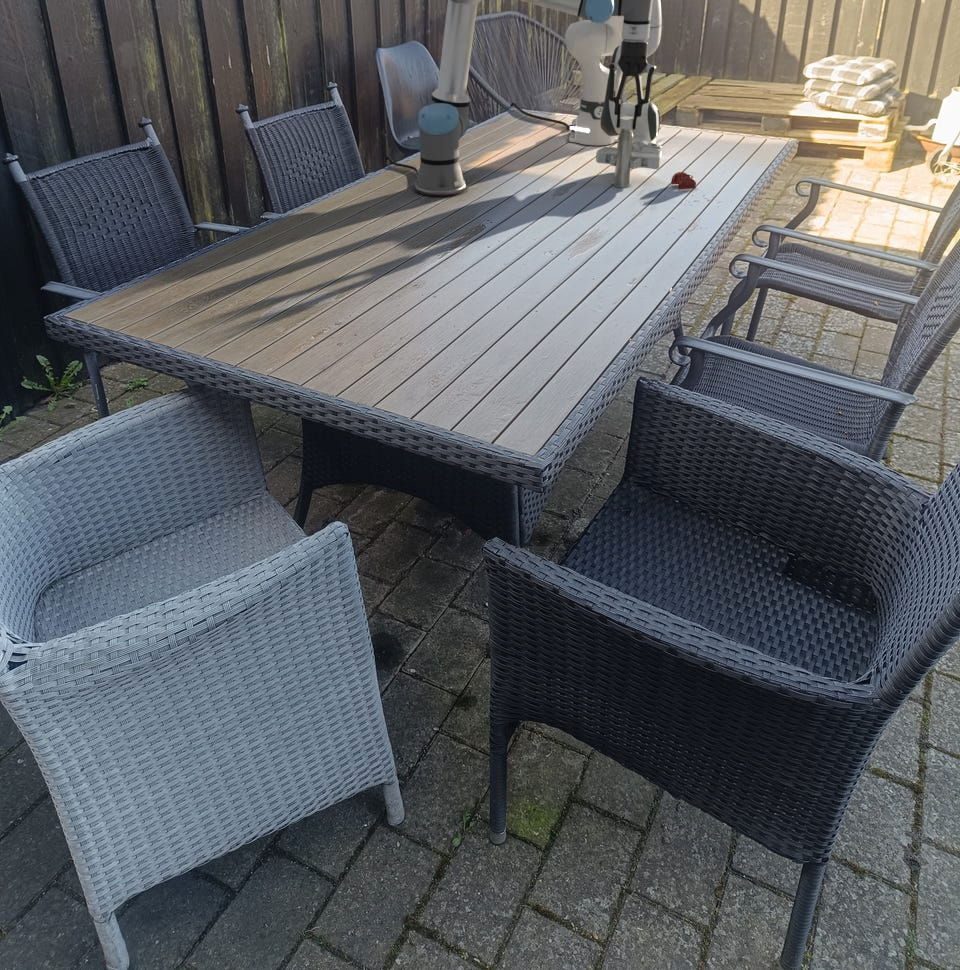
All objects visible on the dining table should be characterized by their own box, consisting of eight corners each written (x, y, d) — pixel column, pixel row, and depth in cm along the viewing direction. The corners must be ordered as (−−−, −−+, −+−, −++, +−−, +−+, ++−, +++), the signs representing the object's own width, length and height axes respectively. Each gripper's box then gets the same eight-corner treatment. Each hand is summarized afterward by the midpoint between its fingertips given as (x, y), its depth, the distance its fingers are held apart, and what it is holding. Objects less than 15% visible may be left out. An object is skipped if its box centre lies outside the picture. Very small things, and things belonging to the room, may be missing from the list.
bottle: (617, 182, 265) (623, 117, 254) (630, 184, 263) (637, 118, 252) (611, 186, 262) (617, 120, 250) (625, 188, 260) (631, 121, 248)
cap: (622, 124, 255) (623, 115, 253) (636, 126, 253) (637, 117, 251) (617, 127, 252) (617, 118, 250) (630, 129, 250) (631, 120, 248)
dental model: (687, 168, 262) (698, 175, 256) (685, 181, 264) (697, 189, 258) (670, 170, 261) (681, 177, 255) (669, 183, 263) (680, 191, 257)
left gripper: (602, 40, 238) (595, 127, 252) (663, 43, 233) (653, 132, 247) (608, 36, 244) (601, 122, 258) (668, 39, 239) (657, 127, 253)
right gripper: (603, 139, 269) (590, 150, 259) (666, 145, 263) (656, 156, 253) (601, 160, 273) (589, 171, 263) (663, 166, 267) (653, 178, 256)
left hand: (626, 127), depth 252 cm, fingers closed on cap, 4 cm apart
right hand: (622, 164), depth 258 cm, fingers closed on bottle, 4 cm apart
